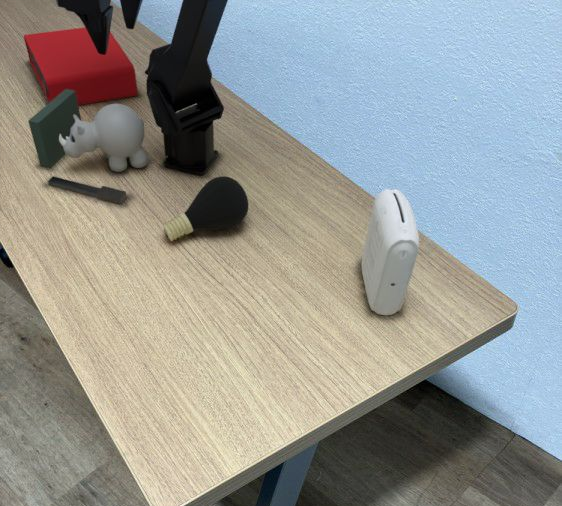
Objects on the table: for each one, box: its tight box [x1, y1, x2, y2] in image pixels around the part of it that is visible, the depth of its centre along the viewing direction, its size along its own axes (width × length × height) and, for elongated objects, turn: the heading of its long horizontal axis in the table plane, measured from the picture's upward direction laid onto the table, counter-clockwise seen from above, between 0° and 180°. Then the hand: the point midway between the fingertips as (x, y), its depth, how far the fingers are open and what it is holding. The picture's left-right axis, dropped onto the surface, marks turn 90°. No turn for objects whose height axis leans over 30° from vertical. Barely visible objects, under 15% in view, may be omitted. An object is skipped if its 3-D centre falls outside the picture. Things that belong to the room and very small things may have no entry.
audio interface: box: [23, 26, 139, 106], centre depth 105 cm, size 18×14×5 cm
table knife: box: [47, 176, 128, 205], centre depth 86 cm, size 11×2×1 cm, turn 72°
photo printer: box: [361, 188, 420, 316], centre depth 73 cm, size 10×4×12 cm, turn 4°
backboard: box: [27, 89, 82, 169], centre depth 90 cm, size 2×10×7 cm, turn 162°
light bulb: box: [162, 176, 249, 242], centre depth 81 cm, size 7×7×12 cm
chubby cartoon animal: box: [59, 103, 149, 173], centre depth 88 cm, size 7×12×8 cm, turn 111°
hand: (116, 40), depth 90 cm, fingers open, 9 cm apart
